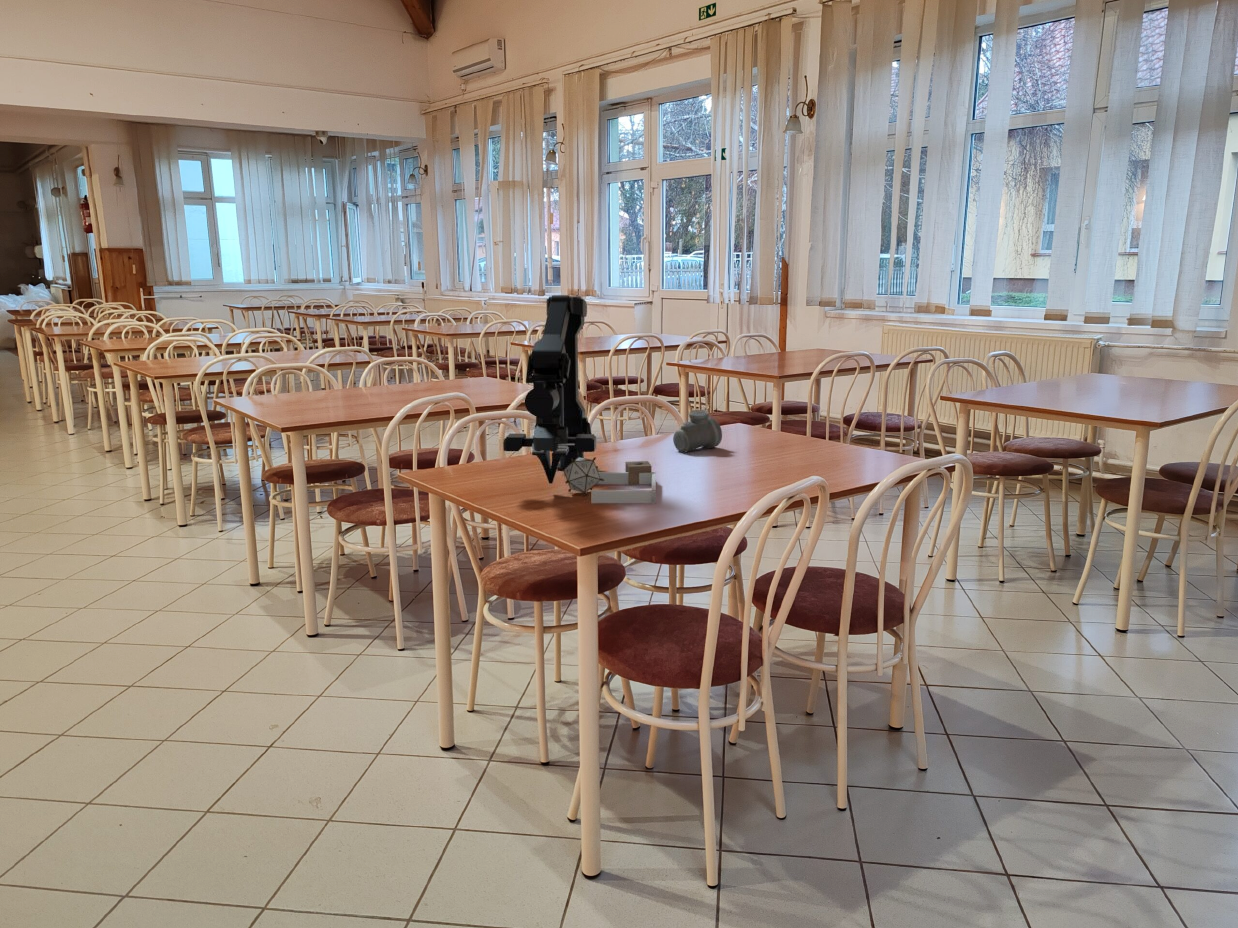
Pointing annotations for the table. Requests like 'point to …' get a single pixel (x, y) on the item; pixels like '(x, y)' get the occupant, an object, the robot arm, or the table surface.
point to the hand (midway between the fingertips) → (551, 483)
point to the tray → (624, 495)
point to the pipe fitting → (698, 432)
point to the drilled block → (637, 470)
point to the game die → (581, 474)
